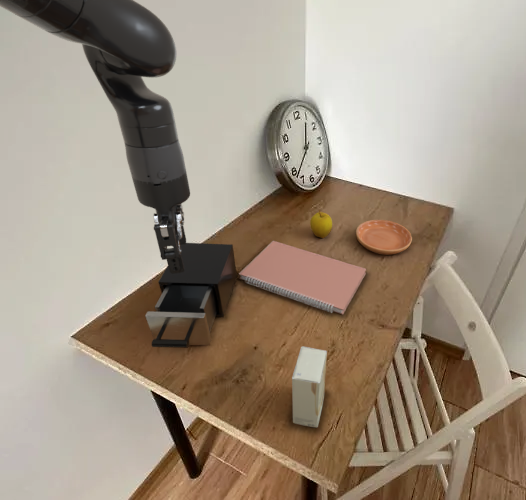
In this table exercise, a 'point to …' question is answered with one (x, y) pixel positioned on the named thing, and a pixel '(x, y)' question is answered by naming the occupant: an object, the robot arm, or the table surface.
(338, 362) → the table surface
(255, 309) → the table surface
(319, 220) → the apple
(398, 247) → the saucer
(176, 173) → the robot arm
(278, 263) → the notebook
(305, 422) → the cosmetic box
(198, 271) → the cabinet
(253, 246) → the table surface
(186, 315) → the drawer
